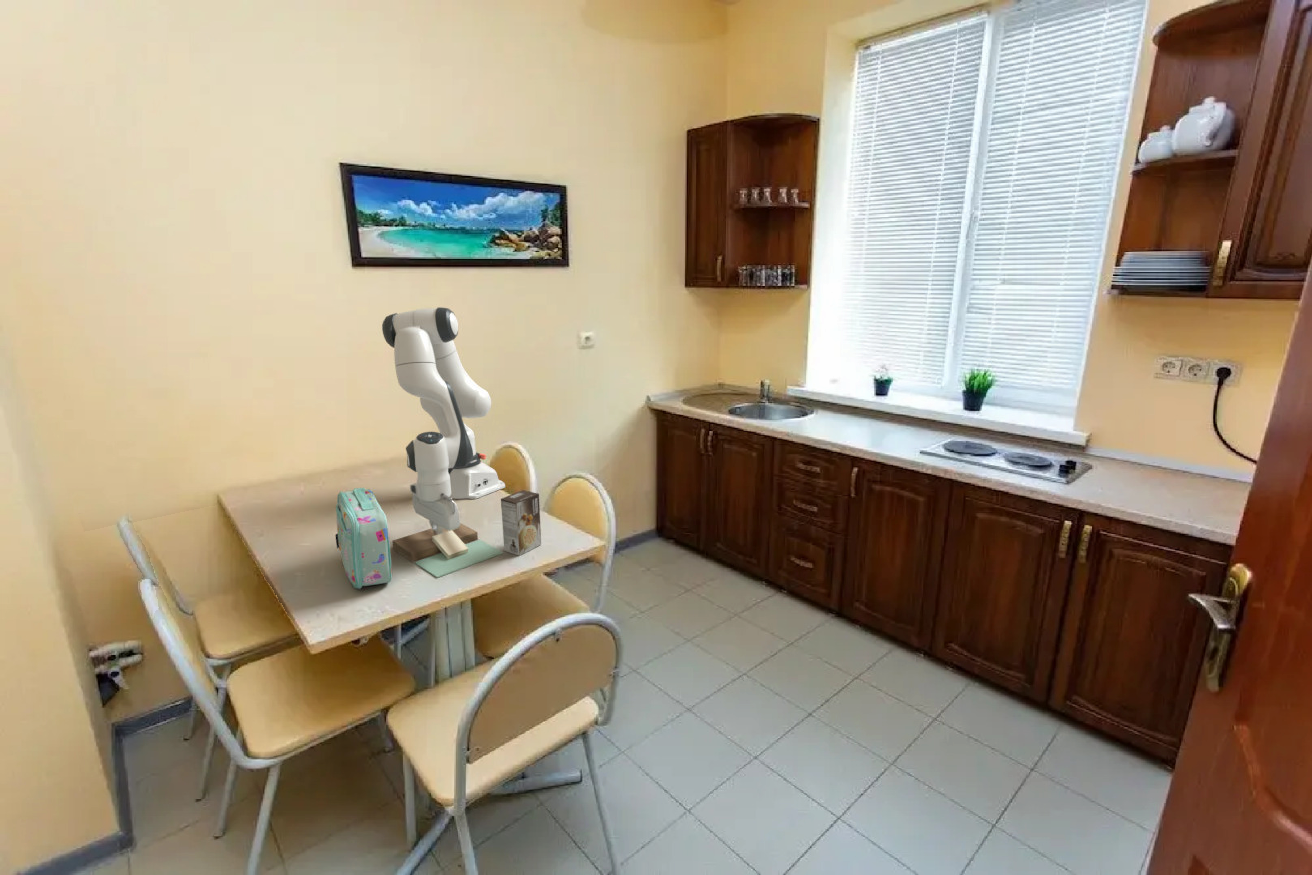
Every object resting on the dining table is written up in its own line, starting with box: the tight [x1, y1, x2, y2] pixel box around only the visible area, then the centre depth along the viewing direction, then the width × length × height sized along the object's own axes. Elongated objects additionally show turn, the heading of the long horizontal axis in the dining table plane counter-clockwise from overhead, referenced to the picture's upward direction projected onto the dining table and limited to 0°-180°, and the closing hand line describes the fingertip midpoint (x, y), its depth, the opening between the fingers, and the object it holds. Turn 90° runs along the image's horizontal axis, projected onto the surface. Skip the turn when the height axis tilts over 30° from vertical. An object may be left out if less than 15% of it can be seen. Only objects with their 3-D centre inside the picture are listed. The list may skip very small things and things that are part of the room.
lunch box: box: [334, 487, 393, 589], centre depth 157 cm, size 27×10×21 cm, turn 35°
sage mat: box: [414, 539, 504, 579], centre depth 167 cm, size 20×12×1 cm, turn 138°
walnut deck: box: [391, 522, 479, 563], centre depth 175 cm, size 20×12×2 cm, turn 138°
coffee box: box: [500, 489, 542, 557], centre depth 172 cm, size 9×6×16 cm
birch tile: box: [432, 530, 468, 559], centre depth 170 cm, size 6×9×2 cm, turn 48°
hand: (438, 535), depth 173 cm, fingers closed
